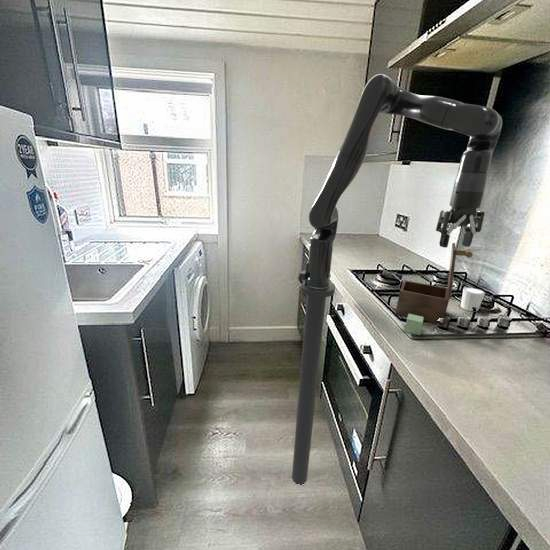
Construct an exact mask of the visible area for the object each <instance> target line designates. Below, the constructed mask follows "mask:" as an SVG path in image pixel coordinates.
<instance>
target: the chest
mask: <svg viewBox="0 0 550 550" xmlns="http://www.w3.org/2000/svg"><path fill="white" fill-rule="evenodd" d="M449 302H450V299H448V287H445V286H444V287H443V286H439V285H433V284H427V283H421V282H417V281H410V280H403V282H402V285H401V287H400V290H399V294H398V300H397V305H396V309H395V310H396V311H395V315H397V316H398V315H399V316H402V317H408V314H413V315H417V316H422V317H424V319H423V322H429V323H433V324H437V325H441V326H442V325H444V322H443V323H441V322H440V321H437V320H438V319H439V318H444V319H445V318H446V314H447V311H448V306H449Z"/></svg>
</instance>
